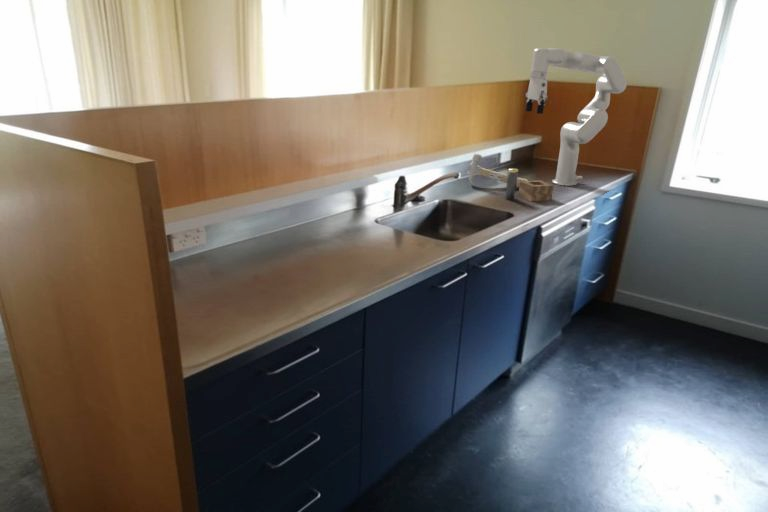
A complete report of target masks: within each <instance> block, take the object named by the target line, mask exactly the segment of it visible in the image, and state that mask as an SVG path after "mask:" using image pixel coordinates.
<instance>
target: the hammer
mask: <svg viewBox="0 0 768 512" xmlns="http://www.w3.org/2000/svg"><path fill="white" fill-rule="evenodd" d="M471 157H472V158H471V159H472V161H471V163H470V164H469V167H468V170H467V176H468V180H469V182H470V184H471V185H472V187H475V184H474V182H473V181H474V180H473V178H474V176H475V175H476V176H484V177H487V178H490V179H493V180H496V181H499V182H501V183H503V184H507V177H508V174H507V173H502V172H498V171H496V170H492V169H487V168H484V167H482V166H480V165H478V163H480V162H481V160H482V157H483V155H482V154H478V153H476V152H475V153H473V154H472V156H471ZM520 181H529V180H528V179H527V178H522V177H518V176H517V184H516V188H517V187H518V188H519V186H520Z"/></svg>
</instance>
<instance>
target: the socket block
mask: <svg viewBox="0 0 768 512" xmlns="http://www.w3.org/2000/svg"><path fill="white" fill-rule="evenodd" d="M553 193H554V185H553V184H550V183H549V182H546V181H544V180H540V179H539V180H538V179H537V180H528V181H520V186H519V187H518V196H519V197H520V198H523V199H525V200H528V201H530V202H543V201H545V202H546V201H552V200H553V199H552V198H553Z"/></svg>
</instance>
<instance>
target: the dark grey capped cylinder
mask: <svg viewBox="0 0 768 512" xmlns="http://www.w3.org/2000/svg"><path fill="white" fill-rule="evenodd" d="M518 174H519V169H518V168H513V167H510V168H508V170H507V175H508V177H507V183H506V189H505V196H504V199H505V200H506V201H515V199H516V190H517V186H516V184H517V177H518V176H519V175H518Z"/></svg>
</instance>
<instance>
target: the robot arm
mask: <svg viewBox="0 0 768 512" xmlns="http://www.w3.org/2000/svg"><path fill="white" fill-rule="evenodd" d="M549 66H551V67H558V68H562V69H567V70H571V71H577V72H585V73H589V74H594V75H601V76H599V77H598V78H597V80H596V84H595V95H594V97H593V98H592V99H591V101H590V102H589V103H587V105H585V107H584V108H583V109H581V111H579V113H578V115H577V122H575V121H568V122H566V123H565V124H563V125H562V127H561V129H560V134H559V135H560V137H559V138H560V146H559V147H560V148H559V152H558V153H559V154H558V160H557V167H556V174H555V178H554V179H552V181H551V182H552V183H553V184H555V185H558V186H564V185H565V186H568V187H570V186H573V185H574V186H576V185H577V184H578V182H577V181H580V180H583V176H582V175H577V174H576V173H577V172H576V171H577V166H578V160H579V153H580V145H584V144H587V143H589V142H590V141H591V140H593V139H594V138H595V136H597V135H598V133H599V132H600V131H602V129H603V128H605V127H606V124H607V123H608V119H609V116H608V115H609V114H608V112H607V111H606V110H607V109H608V107H609V106H610V102H611V94H615V95H616V94H621V93H623V92H624V91H625V90H626V88H627V85H628V82H627V80H628V79H627V78H626V76H625V73H624V71H623V69H622V68H621V65H620V64H619V62H618V61H617V59H616V58H615V57H614V56H610V55H607V56H606V55H598V54H592V53H588V52H582V51H566V50H565V49H564V48H558V47H557V48H555V47H554V48H553V47H548V48H545V47H537V48H534V50H533V53H532V62H531V71H530V79H529V84H528V87H527V92H525V101H526V102H525V103H526V106H525V112H532V111H533V102H534V101H537V107H536V114H543V113H544V107H545V105H546V103H547V100H548V94H547V93H548V79H547V78H548V77H547V76H548V70H549Z"/></svg>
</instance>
